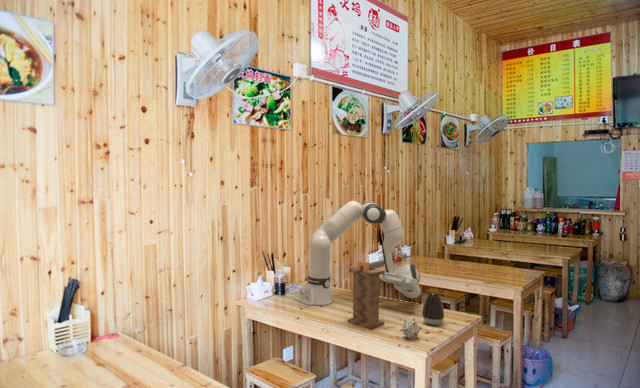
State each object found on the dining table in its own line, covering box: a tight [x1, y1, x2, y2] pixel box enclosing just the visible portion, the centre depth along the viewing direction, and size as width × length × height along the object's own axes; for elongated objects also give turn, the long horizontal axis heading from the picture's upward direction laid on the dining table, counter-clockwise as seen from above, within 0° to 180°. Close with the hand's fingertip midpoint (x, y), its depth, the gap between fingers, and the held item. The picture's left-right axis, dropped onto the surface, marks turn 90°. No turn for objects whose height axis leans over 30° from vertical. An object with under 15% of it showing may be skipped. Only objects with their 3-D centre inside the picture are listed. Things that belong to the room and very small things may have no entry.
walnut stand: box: [347, 266, 385, 331], centre depth 206 cm, size 14×10×26 cm
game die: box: [399, 317, 423, 341], centre depth 189 cm, size 9×8×10 cm
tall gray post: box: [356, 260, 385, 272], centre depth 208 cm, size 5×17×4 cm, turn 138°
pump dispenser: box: [421, 291, 445, 326], centre depth 208 cm, size 10×10×15 cm
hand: (390, 273), depth 221 cm, fingers open, 8 cm apart
